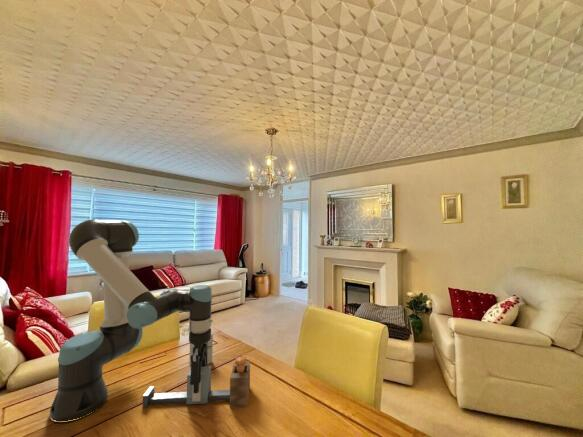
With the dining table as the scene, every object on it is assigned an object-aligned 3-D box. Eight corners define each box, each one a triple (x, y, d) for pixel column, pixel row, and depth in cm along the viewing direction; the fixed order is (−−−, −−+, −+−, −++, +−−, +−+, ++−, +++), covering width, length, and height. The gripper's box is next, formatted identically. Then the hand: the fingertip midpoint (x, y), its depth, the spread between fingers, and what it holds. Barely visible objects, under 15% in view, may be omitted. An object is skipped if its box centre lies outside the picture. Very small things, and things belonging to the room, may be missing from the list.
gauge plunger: (234, 380, 87) (234, 362, 88) (236, 374, 91) (236, 356, 91) (245, 380, 88) (245, 361, 88) (246, 373, 92) (246, 356, 92)
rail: (142, 407, 84) (142, 395, 84) (149, 397, 89) (149, 386, 89) (230, 402, 87) (231, 391, 87) (233, 392, 92) (233, 382, 92)
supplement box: (198, 369, 106) (198, 340, 107) (189, 363, 111) (189, 335, 111) (212, 362, 112) (213, 334, 112) (203, 356, 117) (203, 329, 117)
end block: (229, 407, 84) (230, 378, 84) (234, 388, 94) (234, 362, 94) (247, 406, 85) (247, 377, 85) (249, 387, 95) (250, 361, 95)
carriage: (186, 404, 85) (186, 375, 85) (191, 393, 90) (191, 366, 91) (207, 403, 86) (207, 374, 86) (210, 392, 91) (211, 365, 91)
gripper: (204, 340, 80) (202, 413, 79) (216, 319, 98) (215, 378, 98) (180, 341, 79) (178, 414, 79) (197, 319, 98) (196, 378, 97)
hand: (199, 394), depth 88 cm, fingers closed on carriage, 5 cm apart
